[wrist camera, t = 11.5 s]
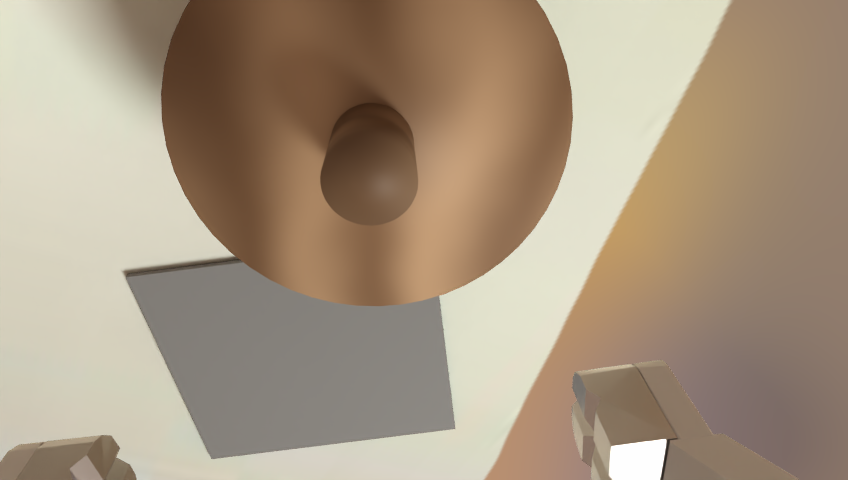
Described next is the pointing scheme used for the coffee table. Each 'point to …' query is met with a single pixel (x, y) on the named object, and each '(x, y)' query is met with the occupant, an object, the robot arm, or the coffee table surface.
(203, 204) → the lid
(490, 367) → the coffee table surface
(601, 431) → the robot arm
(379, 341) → the mat
